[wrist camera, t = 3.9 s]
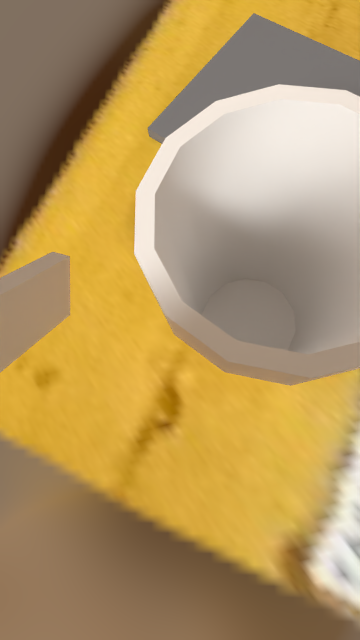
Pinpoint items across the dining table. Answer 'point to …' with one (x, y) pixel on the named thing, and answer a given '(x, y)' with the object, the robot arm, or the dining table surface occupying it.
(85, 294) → the dining table surface
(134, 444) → the dining table surface
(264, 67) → the rubber mat
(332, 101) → the foam cup
